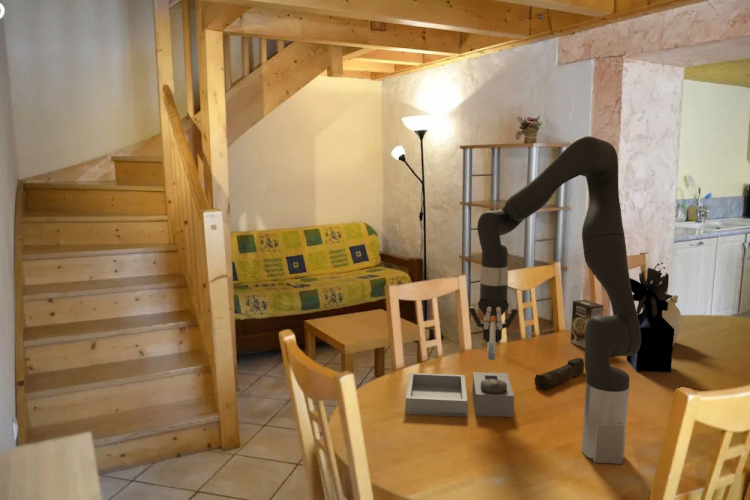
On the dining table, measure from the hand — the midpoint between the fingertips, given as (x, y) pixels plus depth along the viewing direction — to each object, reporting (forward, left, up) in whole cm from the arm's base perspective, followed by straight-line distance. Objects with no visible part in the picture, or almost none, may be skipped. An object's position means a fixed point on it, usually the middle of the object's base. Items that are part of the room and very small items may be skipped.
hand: (492, 341), depth 162 cm
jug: (+57, -66, -17) cm, 89 cm away
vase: (+31, -54, -17) cm, 64 cm away
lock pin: (0, 0, -5) cm, 5 cm away
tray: (-4, +15, -17) cm, 23 cm away
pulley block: (-4, 0, -17) cm, 18 cm away
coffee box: (+51, -39, -17) cm, 66 cm away
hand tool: (+16, -23, -17) cm, 33 cm away
